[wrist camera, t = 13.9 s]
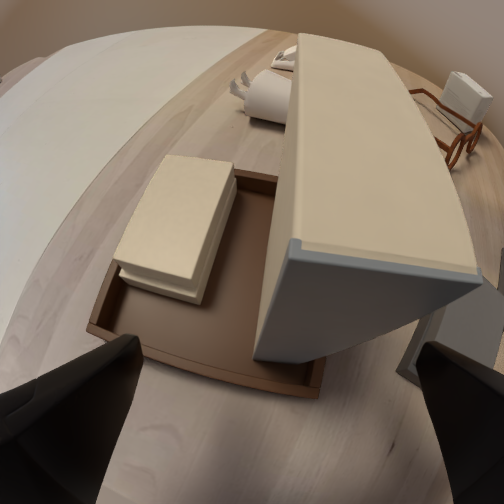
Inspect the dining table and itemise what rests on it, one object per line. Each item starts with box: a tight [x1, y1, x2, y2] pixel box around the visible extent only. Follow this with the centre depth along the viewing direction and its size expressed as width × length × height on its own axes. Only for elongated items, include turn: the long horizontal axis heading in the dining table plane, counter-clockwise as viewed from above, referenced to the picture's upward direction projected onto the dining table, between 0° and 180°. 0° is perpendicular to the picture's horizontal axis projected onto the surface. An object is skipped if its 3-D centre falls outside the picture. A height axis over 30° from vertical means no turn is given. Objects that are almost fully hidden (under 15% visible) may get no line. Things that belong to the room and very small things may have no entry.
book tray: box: [86, 169, 326, 399], centre depth 16 cm, size 13×13×2 cm
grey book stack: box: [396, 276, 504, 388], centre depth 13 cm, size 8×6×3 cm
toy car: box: [271, 45, 297, 71], centre depth 29 cm, size 6×12×4 cm, turn 75°
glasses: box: [408, 89, 483, 171], centre depth 23 cm, size 13×13×5 cm
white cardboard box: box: [436, 71, 493, 133], centre depth 25 cm, size 6×6×7 cm
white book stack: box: [113, 155, 237, 305], centre depth 16 cm, size 8×5×3 cm, turn 167°
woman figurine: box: [230, 69, 292, 124], centre depth 22 cm, size 12×4×18 cm
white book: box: [252, 33, 483, 365], centre depth 10 cm, size 7×2×13 cm, turn 172°
